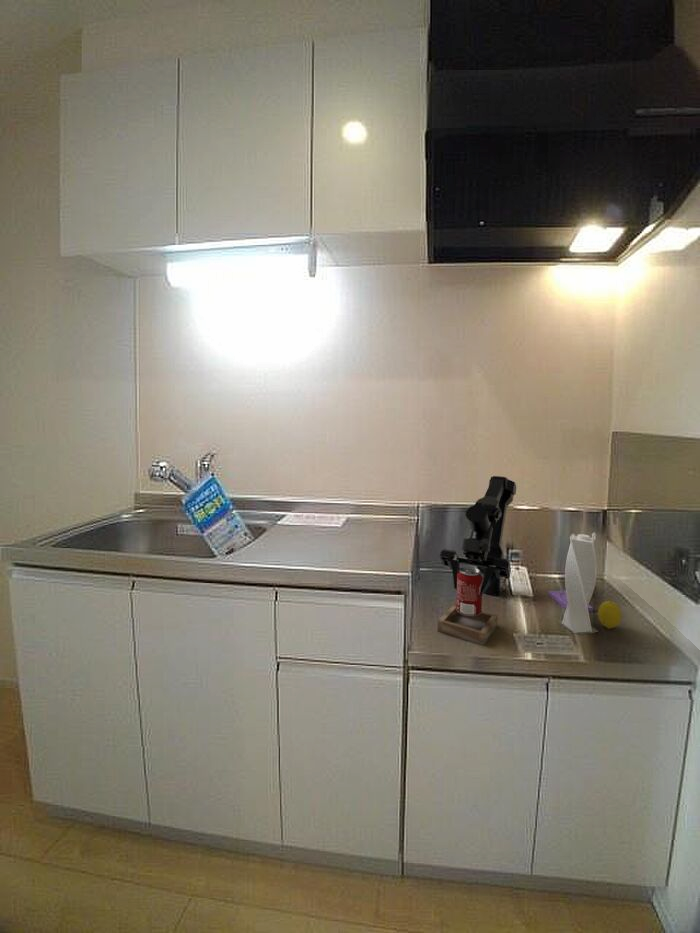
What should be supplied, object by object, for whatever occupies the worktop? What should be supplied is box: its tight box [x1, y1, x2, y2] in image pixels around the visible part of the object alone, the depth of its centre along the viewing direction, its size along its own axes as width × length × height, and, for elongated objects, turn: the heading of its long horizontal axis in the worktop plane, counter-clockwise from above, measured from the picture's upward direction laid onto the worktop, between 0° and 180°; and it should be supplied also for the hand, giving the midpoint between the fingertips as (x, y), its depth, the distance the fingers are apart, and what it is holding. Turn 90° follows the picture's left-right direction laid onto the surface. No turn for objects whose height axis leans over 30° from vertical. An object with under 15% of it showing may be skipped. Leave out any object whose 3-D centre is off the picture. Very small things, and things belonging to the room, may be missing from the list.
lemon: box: [597, 600, 622, 629], centre depth 117 cm, size 6×6×8 cm
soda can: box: [455, 566, 483, 617], centre depth 116 cm, size 7×7×12 cm
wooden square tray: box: [437, 603, 498, 646], centre depth 117 cm, size 12×12×3 cm
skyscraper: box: [557, 531, 599, 635], centre depth 116 cm, size 8×8×28 cm
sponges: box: [548, 589, 593, 612], centre depth 133 cm, size 7×13×2 cm, turn 6°
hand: (468, 591), depth 115 cm, fingers closed on soda can, 7 cm apart
